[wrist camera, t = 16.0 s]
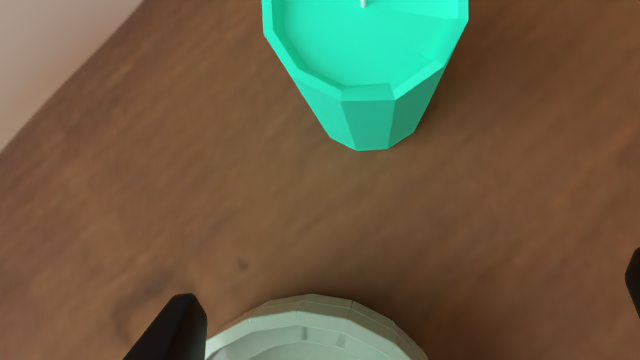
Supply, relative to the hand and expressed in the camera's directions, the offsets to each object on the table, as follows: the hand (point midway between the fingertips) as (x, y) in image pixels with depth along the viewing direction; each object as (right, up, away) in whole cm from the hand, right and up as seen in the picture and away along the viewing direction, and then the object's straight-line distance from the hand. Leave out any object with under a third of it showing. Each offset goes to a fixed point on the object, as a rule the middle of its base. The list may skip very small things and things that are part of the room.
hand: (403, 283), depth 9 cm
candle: (+1, +7, +14) cm, 15 cm away
